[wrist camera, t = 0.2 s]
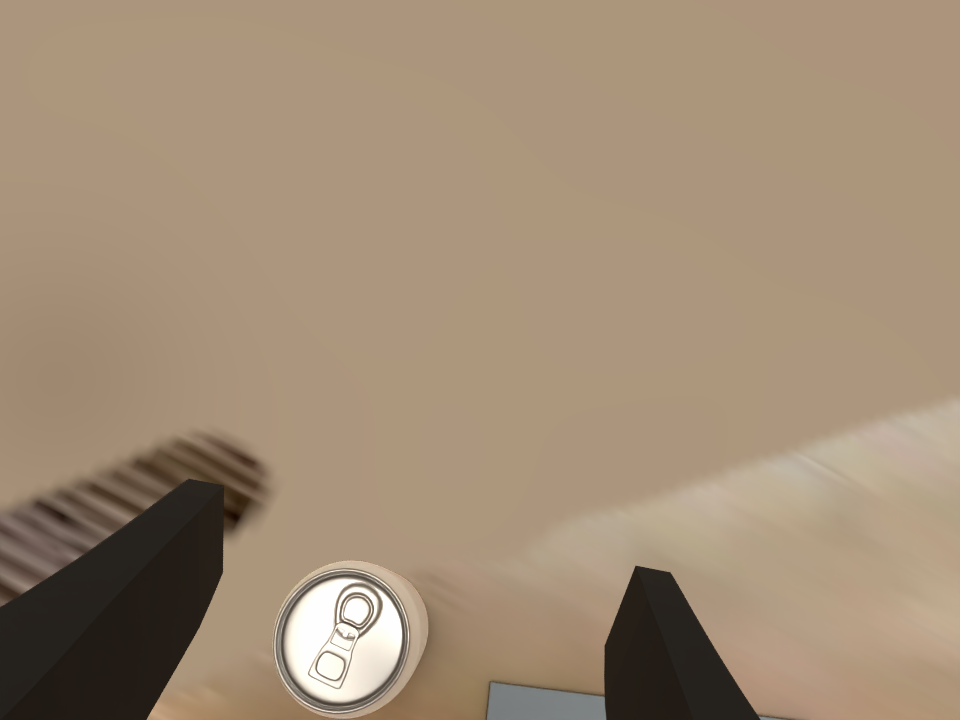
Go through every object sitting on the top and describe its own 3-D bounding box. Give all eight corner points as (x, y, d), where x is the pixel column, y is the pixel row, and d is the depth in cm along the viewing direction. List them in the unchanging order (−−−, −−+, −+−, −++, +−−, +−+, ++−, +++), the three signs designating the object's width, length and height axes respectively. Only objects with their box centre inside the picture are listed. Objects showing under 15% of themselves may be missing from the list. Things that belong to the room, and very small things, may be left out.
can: (447, 596, 42) (446, 596, 30) (398, 710, 40) (378, 755, 28) (346, 550, 42) (308, 532, 31) (294, 659, 40) (232, 684, 29)
